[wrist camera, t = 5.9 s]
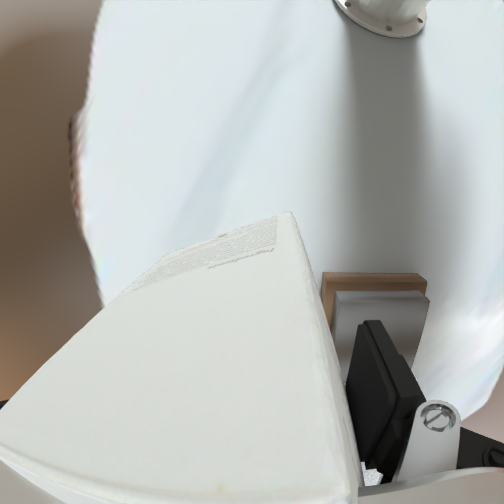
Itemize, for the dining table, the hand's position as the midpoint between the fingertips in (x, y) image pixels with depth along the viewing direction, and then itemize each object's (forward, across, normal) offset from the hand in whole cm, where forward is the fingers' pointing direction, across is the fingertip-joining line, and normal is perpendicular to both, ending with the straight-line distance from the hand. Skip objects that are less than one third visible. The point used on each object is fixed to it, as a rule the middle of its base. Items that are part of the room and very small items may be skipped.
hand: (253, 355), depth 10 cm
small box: (+3, 0, 0) cm, 3 cm away
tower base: (+22, -12, +11) cm, 28 cm away
